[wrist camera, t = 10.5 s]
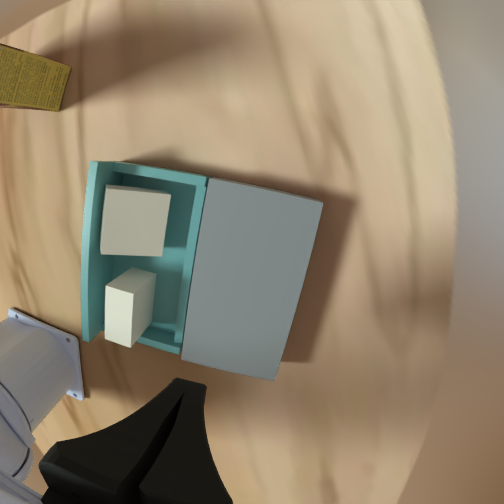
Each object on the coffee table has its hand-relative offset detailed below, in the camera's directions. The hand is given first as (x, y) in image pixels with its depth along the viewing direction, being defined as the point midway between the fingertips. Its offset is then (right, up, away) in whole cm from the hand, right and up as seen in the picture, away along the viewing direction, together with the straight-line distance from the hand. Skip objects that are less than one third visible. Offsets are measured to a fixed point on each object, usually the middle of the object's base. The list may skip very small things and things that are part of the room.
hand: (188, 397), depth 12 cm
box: (-5, +6, +10) cm, 12 cm away
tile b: (-4, +8, +6) cm, 11 cm away
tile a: (-5, +2, +8) cm, 10 cm away
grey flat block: (+2, +5, +9) cm, 11 cm away
